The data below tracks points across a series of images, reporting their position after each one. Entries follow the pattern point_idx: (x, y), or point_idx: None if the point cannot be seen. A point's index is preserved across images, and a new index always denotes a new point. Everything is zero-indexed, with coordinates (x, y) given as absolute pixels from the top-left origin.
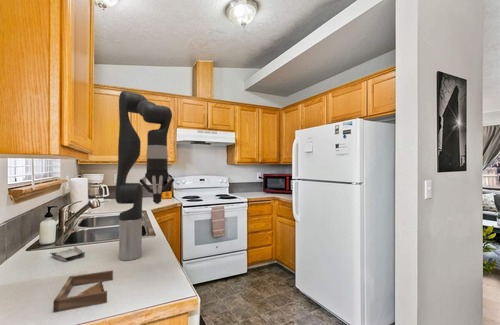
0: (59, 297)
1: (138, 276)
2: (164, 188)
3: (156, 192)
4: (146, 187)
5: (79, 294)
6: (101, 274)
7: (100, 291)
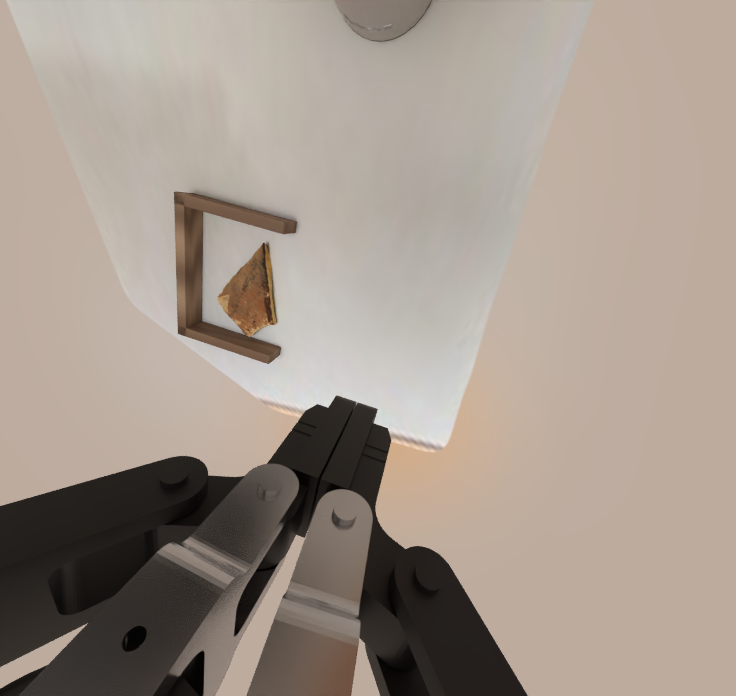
0: (183, 322)
1: (365, 256)
2: (383, 683)
3: (283, 559)
4: (78, 589)
5: (223, 295)
6: (256, 226)
7: (263, 312)
